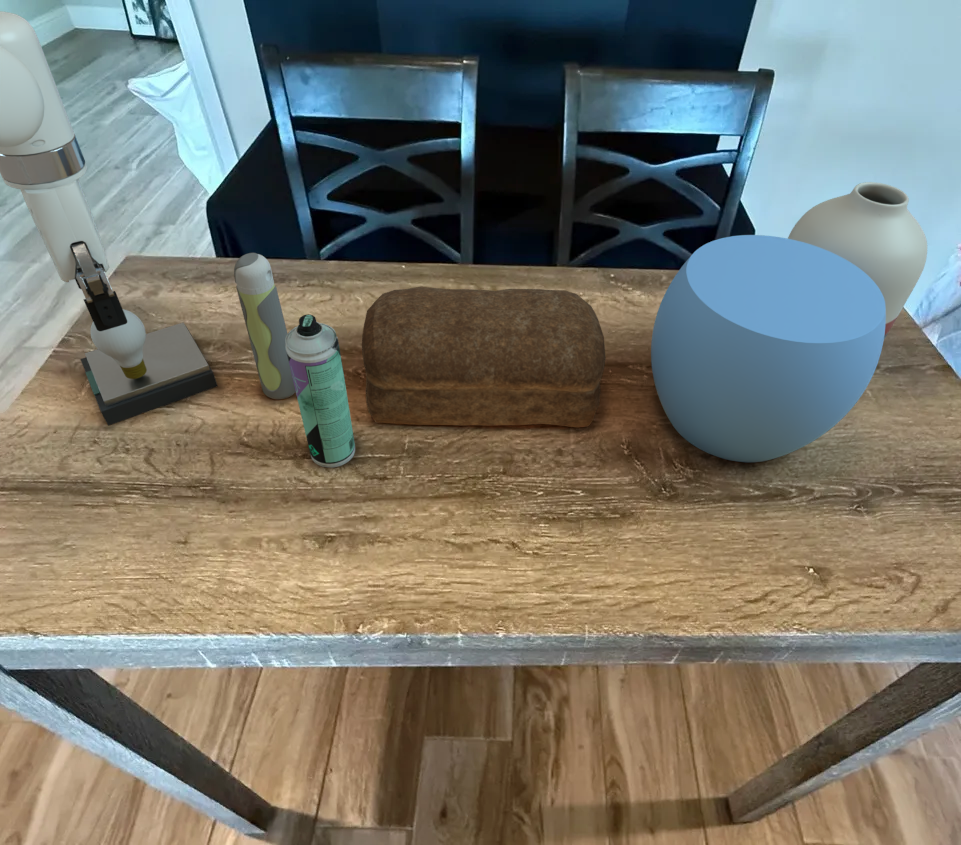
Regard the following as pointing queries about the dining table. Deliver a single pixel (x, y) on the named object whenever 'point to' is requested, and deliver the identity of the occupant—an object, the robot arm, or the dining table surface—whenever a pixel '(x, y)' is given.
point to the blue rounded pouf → (764, 345)
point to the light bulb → (124, 345)
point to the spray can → (321, 391)
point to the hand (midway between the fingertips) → (102, 305)
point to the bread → (482, 357)
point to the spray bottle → (264, 324)
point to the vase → (871, 239)
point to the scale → (150, 375)
